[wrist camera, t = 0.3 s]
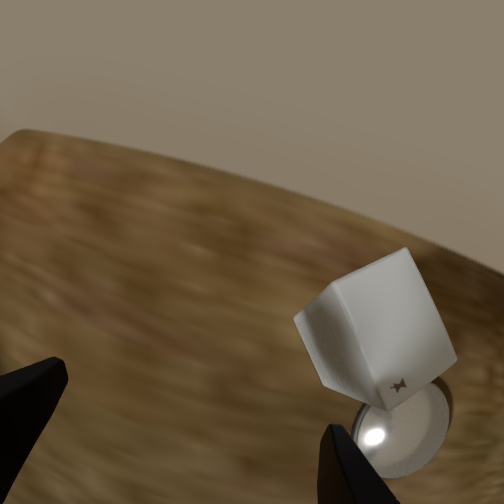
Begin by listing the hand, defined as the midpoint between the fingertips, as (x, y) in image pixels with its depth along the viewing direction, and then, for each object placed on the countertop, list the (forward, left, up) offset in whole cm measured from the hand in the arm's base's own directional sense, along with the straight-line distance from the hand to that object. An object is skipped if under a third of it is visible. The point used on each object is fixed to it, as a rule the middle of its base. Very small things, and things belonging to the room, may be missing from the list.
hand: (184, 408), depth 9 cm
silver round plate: (-11, -10, -14) cm, 21 cm away
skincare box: (-1, -8, -14) cm, 17 cm away
